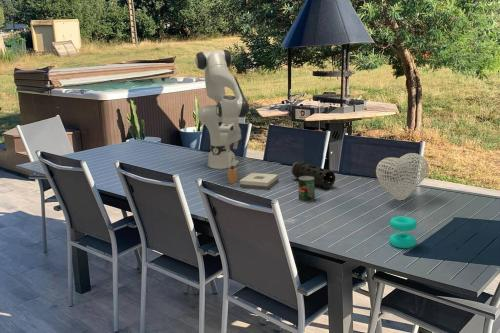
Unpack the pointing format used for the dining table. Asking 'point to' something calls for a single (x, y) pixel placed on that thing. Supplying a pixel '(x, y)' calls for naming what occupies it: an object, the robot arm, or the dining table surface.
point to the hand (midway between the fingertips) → (231, 150)
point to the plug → (232, 175)
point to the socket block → (259, 181)
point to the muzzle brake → (314, 174)
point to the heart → (379, 174)
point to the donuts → (403, 238)
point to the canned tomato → (306, 188)
